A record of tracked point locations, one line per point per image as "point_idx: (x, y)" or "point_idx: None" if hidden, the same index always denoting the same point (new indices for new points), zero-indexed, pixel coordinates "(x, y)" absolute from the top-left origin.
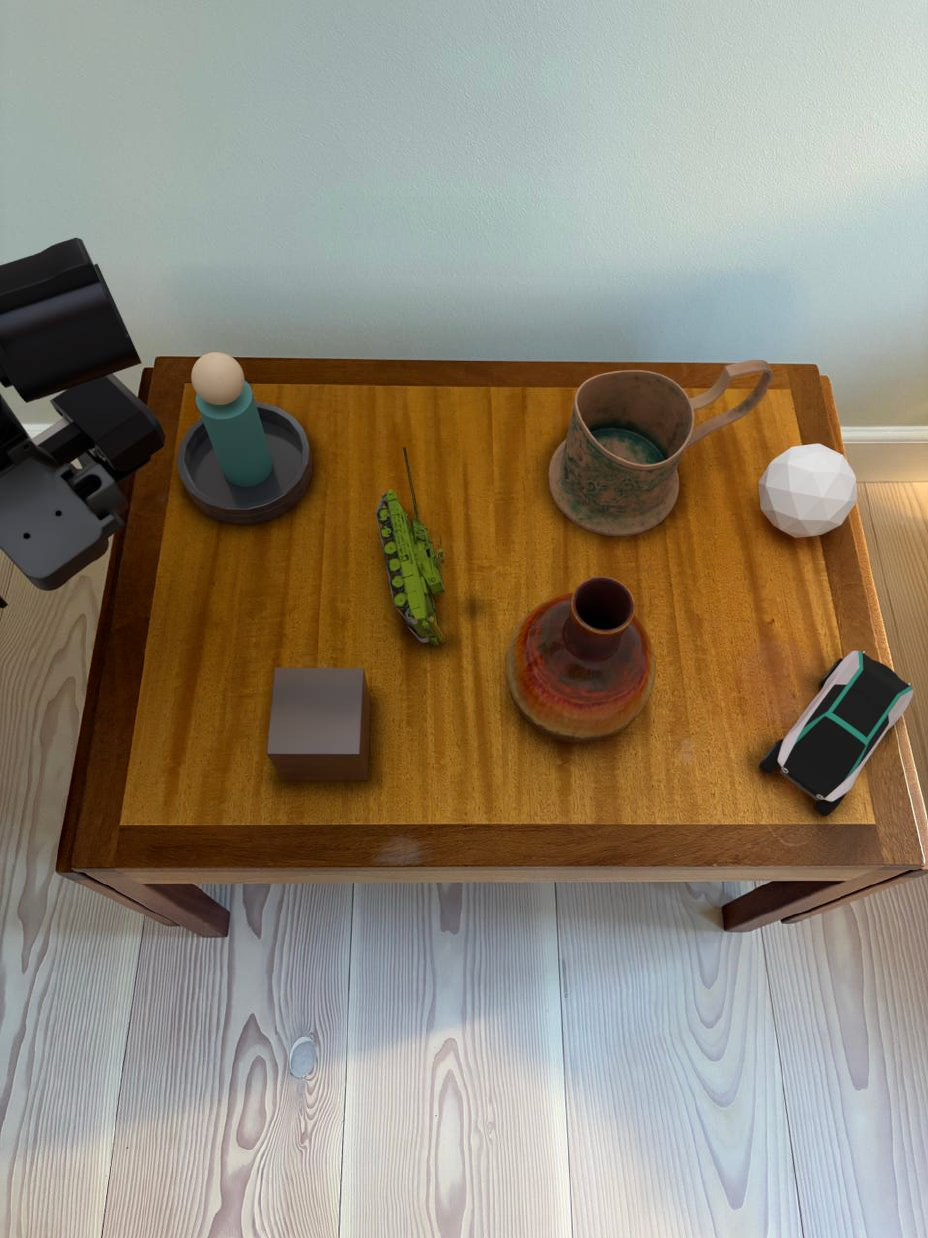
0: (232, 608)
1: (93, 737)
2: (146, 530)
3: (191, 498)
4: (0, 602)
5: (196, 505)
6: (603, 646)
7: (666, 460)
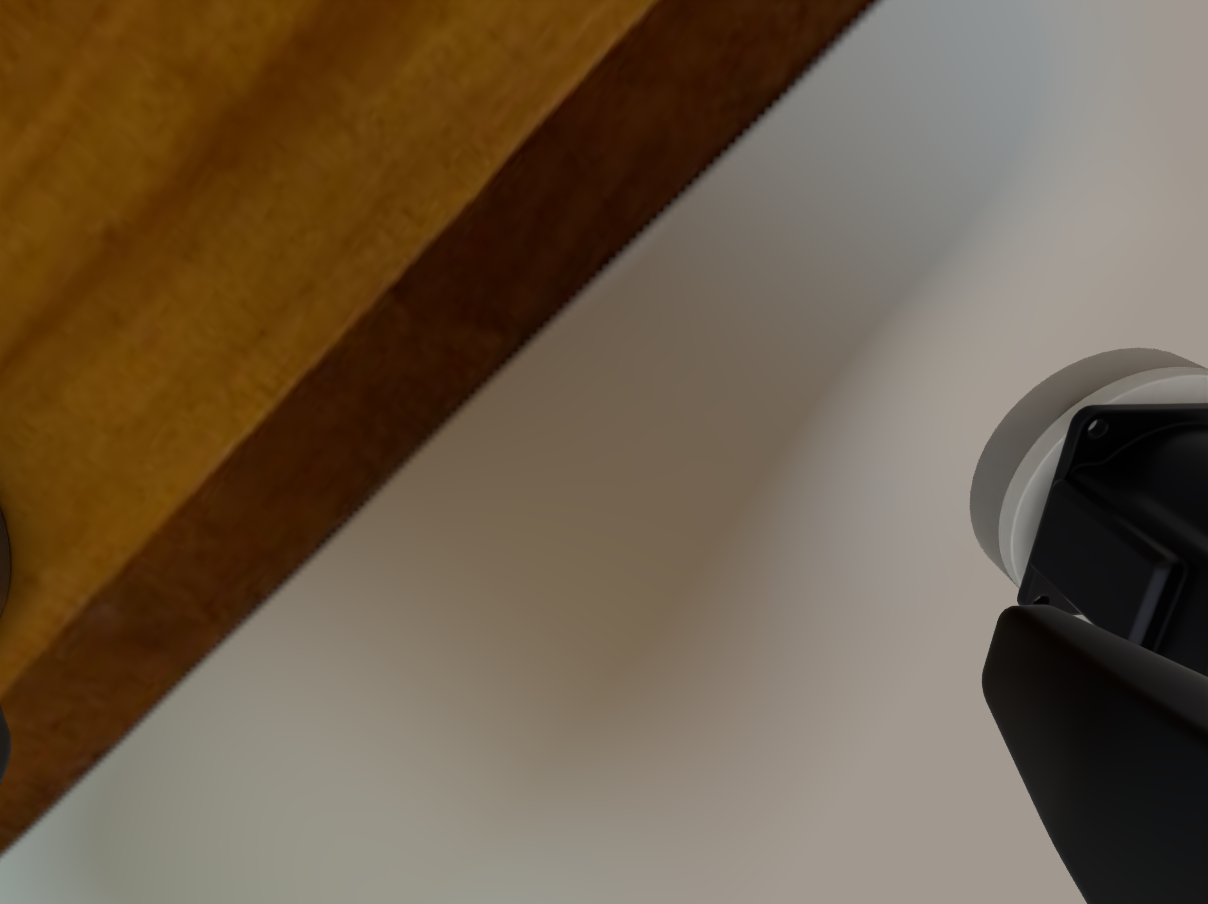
0: (95, 86)
1: (811, 52)
2: (215, 557)
3: (5, 560)
4: (1106, 656)
5: (4, 529)
6: None
7: None
